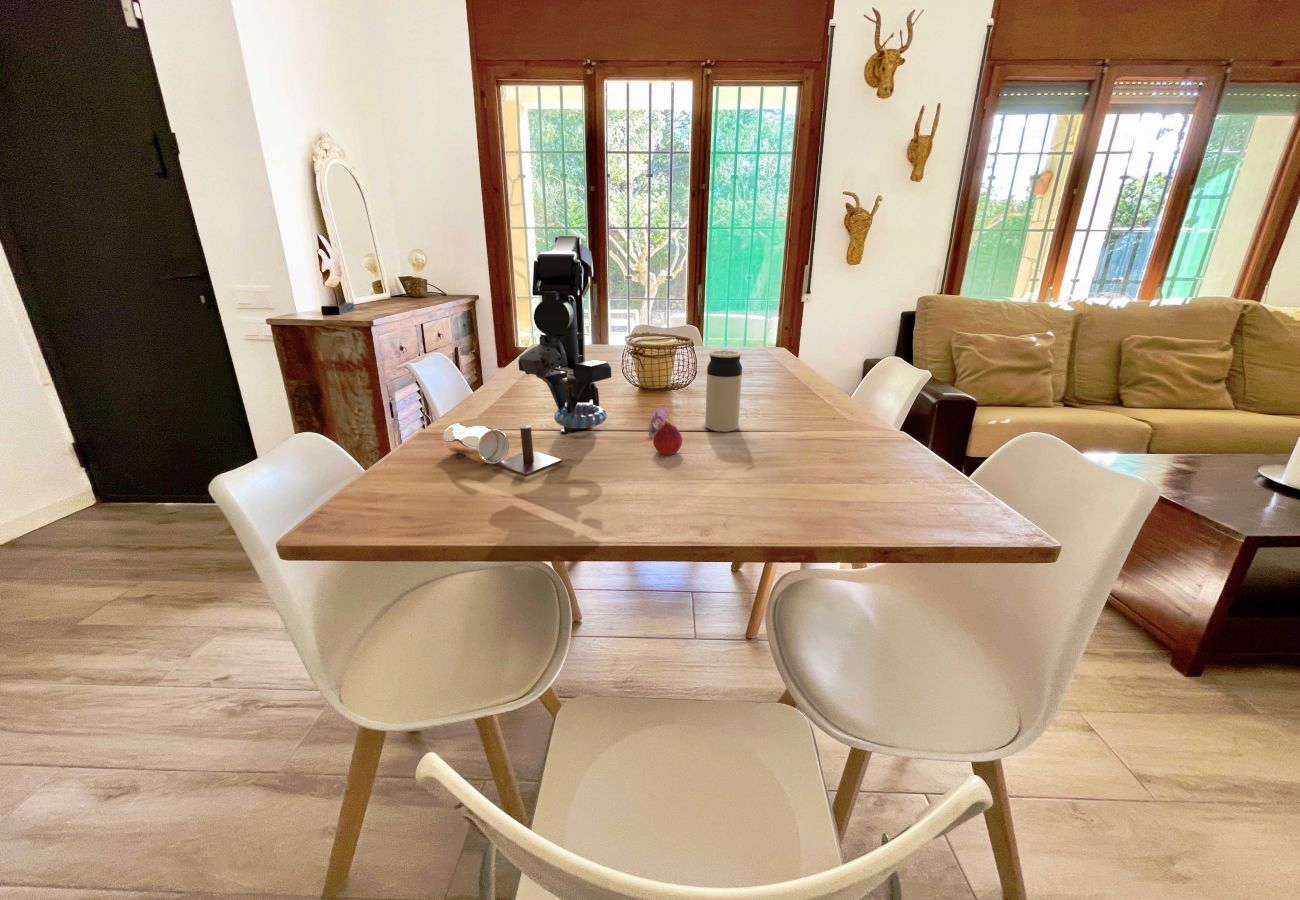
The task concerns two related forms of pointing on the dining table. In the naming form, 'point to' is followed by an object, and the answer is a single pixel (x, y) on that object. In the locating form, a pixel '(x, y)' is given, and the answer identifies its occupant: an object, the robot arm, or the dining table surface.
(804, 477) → the dining table surface
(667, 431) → the onion
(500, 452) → the beer glass
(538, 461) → the stand
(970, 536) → the dining table surface
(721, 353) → the travel mug
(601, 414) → the blue ribbed ring toss
